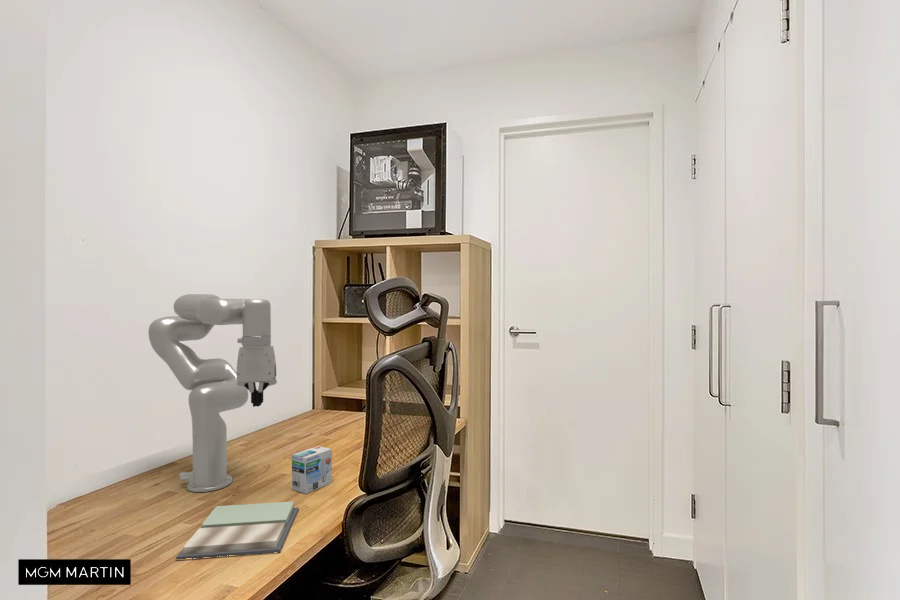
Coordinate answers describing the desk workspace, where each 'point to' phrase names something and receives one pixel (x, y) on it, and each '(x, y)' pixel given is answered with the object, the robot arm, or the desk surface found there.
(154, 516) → the desk surface
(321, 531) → the desk surface
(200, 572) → the desk surface
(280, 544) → the underlay mat
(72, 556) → the desk surface
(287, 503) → the sage plank
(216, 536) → the oak plank
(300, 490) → the light bulb box
